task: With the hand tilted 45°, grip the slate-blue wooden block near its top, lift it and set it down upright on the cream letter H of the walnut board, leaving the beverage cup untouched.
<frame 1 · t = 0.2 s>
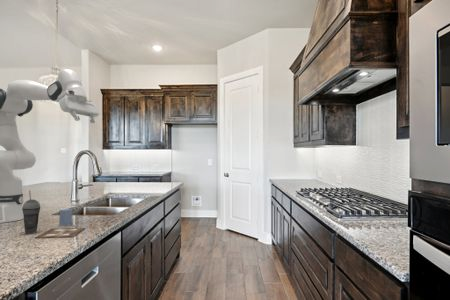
hand: (85, 121, 136), 54 cm above the worktop, tool tilted 30°, fingers open, 8 cm apart
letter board: (61, 233, 130), on the worktop
slate block: (65, 224, 145), on the worktop
beverage cup: (30, 232, 131), on the worktop
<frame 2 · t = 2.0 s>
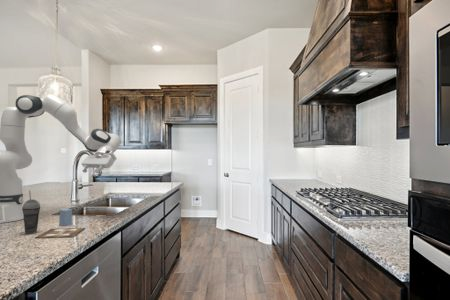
hand: (90, 172, 159), 27 cm above the worktop, tool tilted 45°, fingers open, 8 cm apart
nothing on the worktop moved.
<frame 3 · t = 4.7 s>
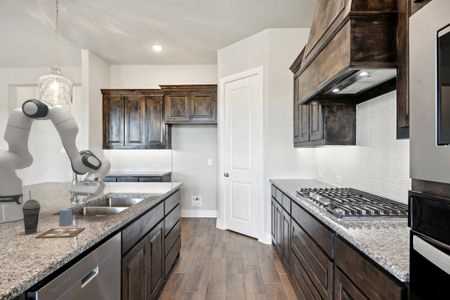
hand: (77, 201, 152), 11 cm above the worktop, tool tilted 45°, fingers open, 8 cm apart
nothing on the worktop moved.
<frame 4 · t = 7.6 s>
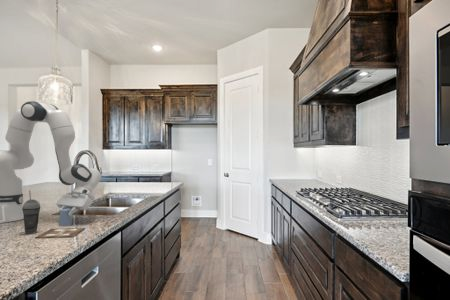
hand: (64, 214, 144), 5 cm above the worktop, tool tilted 45°, fingers closed on slate block, 4 cm apart
slate block: (65, 224, 145), on the worktop, touching gripper
everything else where it was.
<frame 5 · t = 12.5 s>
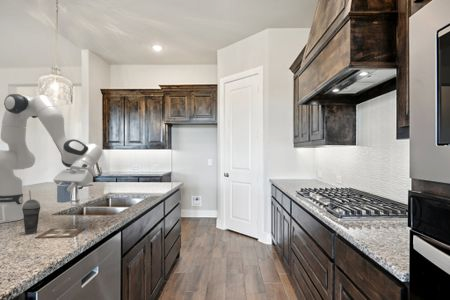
hand: (62, 190, 132), 20 cm above the worktop, tool tilted 45°, fingers closed on slate block, 4 cm apart
slate block: (63, 201, 133), point 14 cm above the worktop, touching gripper
everything else where it was.
when the fingers open (7 cm above the worktop, at t = 17.3 s): slate block stays where it is, resting on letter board.
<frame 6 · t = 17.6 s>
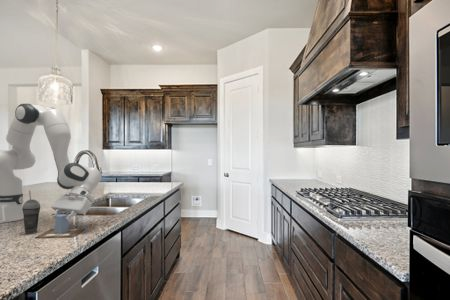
hand: (60, 219, 129), 7 cm above the worktop, tool tilted 45°, fingers open, 6 cm apart
slate block: (61, 232, 130), point 1 cm above the worktop, touching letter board
everything else where it was.
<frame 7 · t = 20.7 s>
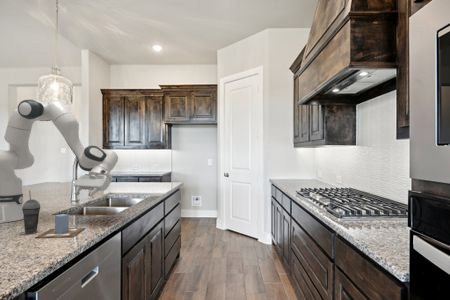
hand: (83, 195, 141), 16 cm above the worktop, tool tilted 45°, fingers open, 8 cm apart
nothing on the worktop moved.
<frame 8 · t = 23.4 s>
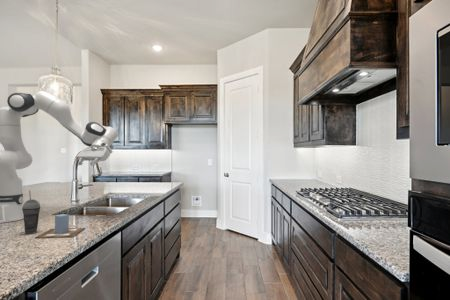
hand: (85, 164, 156), 31 cm above the worktop, tool tilted 45°, fingers open, 8 cm apart
nothing on the worktop moved.
at the end: slate block 0.1 cm off-centre on the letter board, point 0.5 cm above the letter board's base; slate block tilted 0°; the gripper is holding nothing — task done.
